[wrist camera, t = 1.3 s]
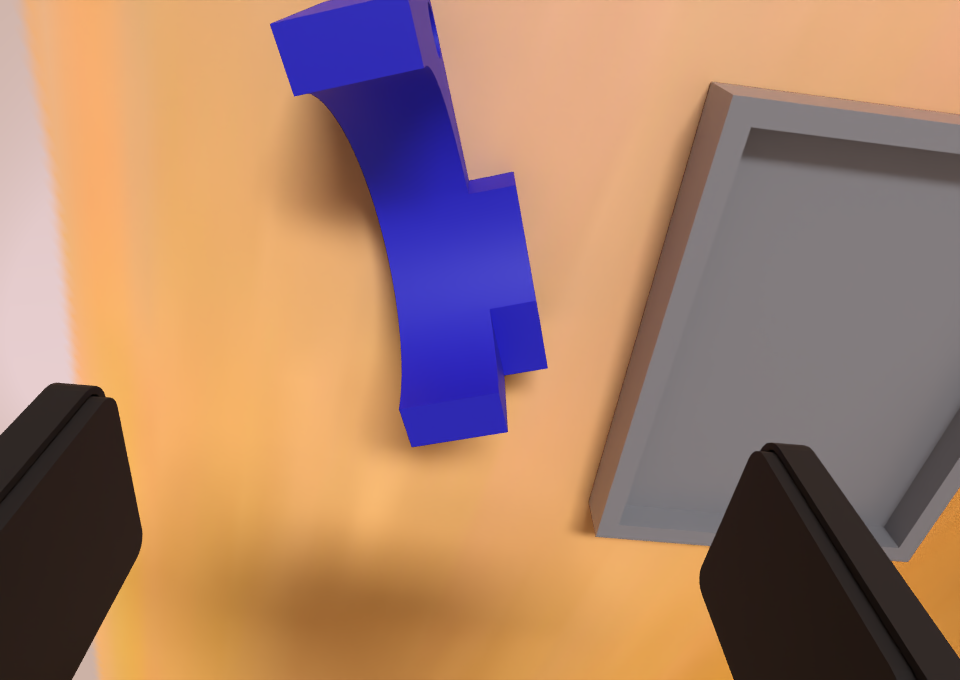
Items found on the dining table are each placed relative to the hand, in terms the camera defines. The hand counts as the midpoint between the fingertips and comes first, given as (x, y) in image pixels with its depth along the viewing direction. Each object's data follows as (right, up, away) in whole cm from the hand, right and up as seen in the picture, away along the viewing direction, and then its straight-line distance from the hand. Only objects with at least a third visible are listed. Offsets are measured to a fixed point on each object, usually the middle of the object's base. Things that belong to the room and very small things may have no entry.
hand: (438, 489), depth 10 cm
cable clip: (0, +8, +12) cm, 14 cm away
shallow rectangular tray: (+14, +2, +15) cm, 21 cm away
